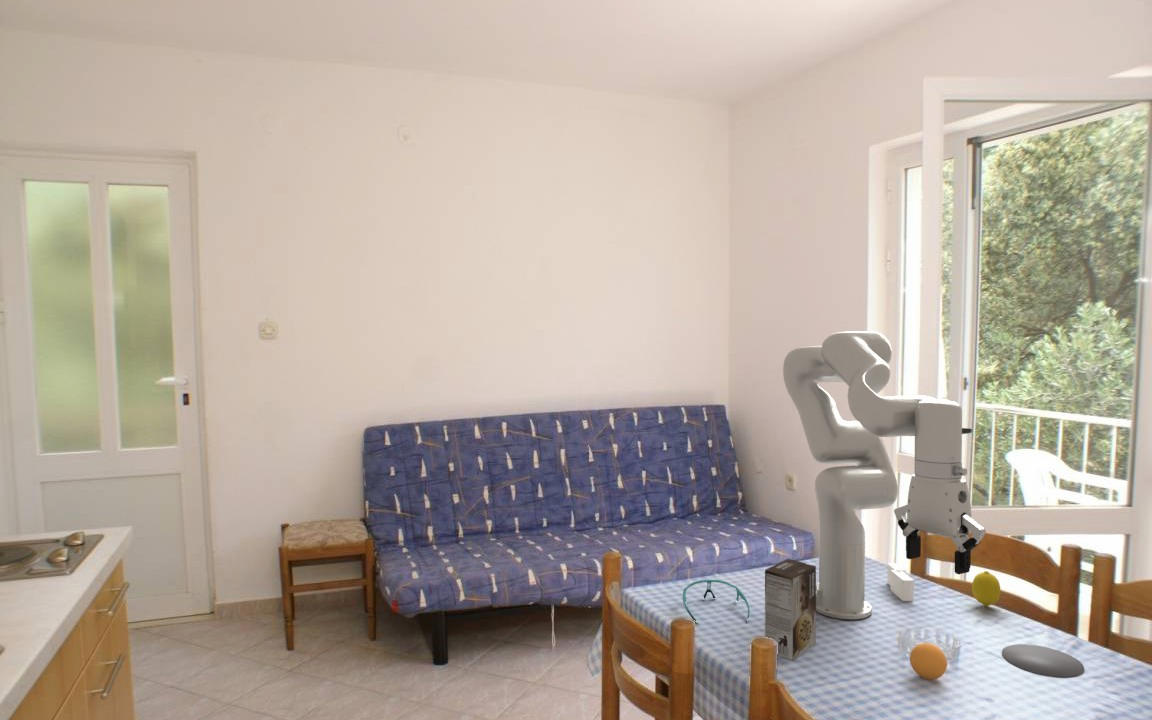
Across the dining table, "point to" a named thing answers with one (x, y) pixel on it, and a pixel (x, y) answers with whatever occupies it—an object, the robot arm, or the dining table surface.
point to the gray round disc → (1043, 660)
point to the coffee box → (791, 607)
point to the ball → (928, 661)
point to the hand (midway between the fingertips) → (936, 565)
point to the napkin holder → (900, 582)
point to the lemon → (986, 588)
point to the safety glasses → (712, 593)
